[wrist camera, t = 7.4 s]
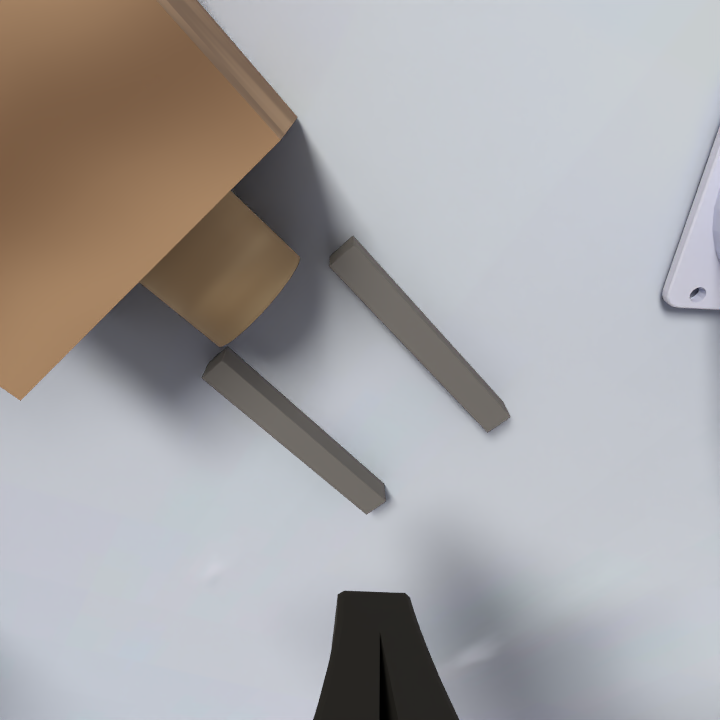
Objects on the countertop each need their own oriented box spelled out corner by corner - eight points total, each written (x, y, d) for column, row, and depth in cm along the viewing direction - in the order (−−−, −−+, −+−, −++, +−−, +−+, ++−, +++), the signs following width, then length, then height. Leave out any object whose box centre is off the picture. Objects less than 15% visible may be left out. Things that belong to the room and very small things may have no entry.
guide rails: (502, 401, 20) (510, 417, 19) (365, 496, 22) (366, 514, 21) (353, 235, 17) (353, 244, 16) (208, 363, 19) (201, 377, 18)
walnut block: (297, 117, 15) (280, 140, 11) (101, 314, 18) (20, 400, 13) (138, -68, 13) (34, -137, 9) (-58, 186, 16) (-218, 235, 11)
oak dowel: (297, 246, 18) (303, 270, 14) (222, 323, 18) (212, 364, 15) (112, 68, 15) (68, 48, 12) (32, 165, 16) (-32, 172, 12)
